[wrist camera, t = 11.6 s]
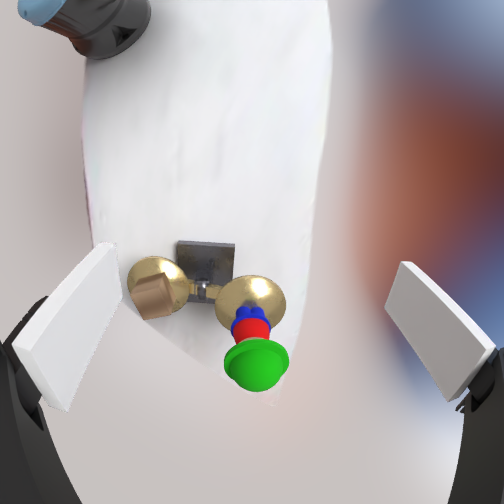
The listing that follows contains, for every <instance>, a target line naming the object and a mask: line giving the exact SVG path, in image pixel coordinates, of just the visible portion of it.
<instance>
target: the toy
mask: <svg viewBox="0 0 504 504" xmlns="http://www.w3.org/2000/svg"><path fill="white" fill-rule="evenodd" d="M270 331H271V326H270V322H269V321H268V319H267V318H266V317H265V313H264V310H263V309H262V308H260V307H254V308H252V309H251V310H250V309H249V308H248V307H239V308H238V309H237V310H236V319H235V320H234V321H233V323H232V325H231V334H232V336H233V337H234V339H235V342H236V345H235V346H233V347H232V348H231V349H230V350H229V351H228V352H227V353H226V355H225V358H224V369H225V372H226V373H227V375H228V376H229V377H230V378H231V379H233V380H235V382H236V383H237V384H238V385H239V386H240V387H242V388H244V389H246V390H248V391H252V392H261V391H265V390H268V389H270V388H271V387H273V386H274V385H275V384H276V383H277V382H278V381H279V379H280V377H281V376H282V375H283V374H284V373H285V372H286V370H287V368H288V366H289V357H288V353H287V351H286V349H285V348H284V347H283V346H281V345H280V344H278V343H277V342H274V341H271V340H269V336H270Z"/></svg>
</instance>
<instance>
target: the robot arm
mask: <svg viewBox="0 0 504 504" xmlns="http://www.w3.org/2000/svg"><path fill="white" fill-rule="evenodd" d="M18 12H19V15H20V16H21V17H22V18H23V19H25V20H27V21H29V22H31V23H32V24H33V25H35V26H41V27H43V28H46V29H49V30H51V31H54V32H56V33H59V34H61V35H63V36H66V37H68V38H69V40H70V41H71V42H72V44H73V46H74V48H75V50H76V51H77V52H78V53H80V54H81V55H83V56H86V57H88V58H91V59H105V58H109V57H112V56H114V55H117V54H119V53H121V52H122V51H124V50H125V49H127V48H128V47H130V46H131V45H132V44H133V43H134V42H135V41H136V40H137V39H138V38H139V37H140V36H141V35H142V33H143V32H144V30H145V29H146V27H147V25H148V23H149V20H150V16H151V7H150V4H149V2H148V0H18ZM122 298H123V294H122V288H121V281H120V275H119V267H118V259H117V251H116V243H109V242H100V243H99V244H98V245H97V246H96V247H95V248H94V249H93V250H92V251H91V252H90V253H89V254H88V255H87V256H86V257H85V258H84V259H83V260H82V261H81V262H80V263H79V264H78V265H77V266H76V267H75V268H74V269H73V270H72V272H70V274H69V275H68V276H67V277H66V278H65V279H64V280H63V281H62V282H61V283H60V284H59V286H58V287H57V288H56V289H55V290H54V291H53V293H52V294H51V295H50V296H45V297H44V298H42V299H40V300H39V301H38V302H36V303H35V304H34V305H33V306H32V308H31V309H30V310H29V311H28V313H27V314H26V315H25V316H24V317H23V318H22V321H20V322H19V323H18V325H17V326H16V327H15V328H14V330H13V331H12V332H11V334H10V335H9V336H8V338H7V339H6V340H5V342H4V343H3V344H2V343H1V341H0V504H82V503H81V501H80V499H79V497H78V496H77V494H76V492H75V490H74V488H73V486H72V484H71V482H70V480H69V478H68V476H67V474H66V472H65V470H64V467H63V465H62V463H61V461H60V458H59V456H58V454H57V451H56V448H55V446H54V443H53V441H52V438H51V435H50V432H49V430H48V427H47V424H46V420H45V417H44V414H43V411H42V408H41V406H40V404H39V403H38V402H39V400H40V398H41V396H42V397H43V398H44V399H45V401H46V402H47V404H48V405H49V406H50V407H53V408H56V409H58V410H61V411H64V412H68V410H69V408H70V405H71V403H72V400H73V398H74V396H75V393H76V391H77V389H78V386H79V384H80V382H81V379H82V377H83V375H84V373H85V370H86V368H87V366H88V364H89V362H90V360H91V358H92V355H93V353H94V352H95V349H96V347H97V345H98V343H99V341H100V339H101V337H102V335H103V333H104V331H105V330H106V328H107V326H108V324H109V322H110V320H111V318H112V316H113V314H114V313H115V311H116V309H117V307H118V305H119V304H120V302H121V300H122ZM384 308H385V310H386V311H387V312H388V314H389V315H390V316H391V318H392V319H393V321H394V322H395V323H396V325H397V326H398V328H399V329H400V330H401V332H402V333H403V335H404V336H405V338H406V339H407V341H408V342H409V343H410V345H411V346H412V348H413V349H414V351H415V352H416V354H417V355H418V357H419V358H420V360H421V361H422V363H423V364H424V366H425V367H426V369H427V370H428V372H429V373H430V375H431V376H432V378H433V380H434V381H435V383H436V384H437V386H438V388H439V389H440V391H441V392H442V394H443V396H444V397H445V399H446V401H447V402H449V401H452V400H454V399H456V398H459V396H460V395H461V394H462V393H463V392H464V390H465V389H466V388H467V387H468V389H469V390H470V392H469V393H468V394H467V395H466V397H465V398H464V399H463V400H462V401H461V403H460V404H459V405H458V406H457V407H456V410H455V411H458V410H459V409H460V408H461V406H464V408H462V410H461V411H460V412H461V413H464V424H463V433H462V441H461V447H460V453H459V459H458V464H457V469H456V474H455V478H454V482H453V486H452V490H451V494H450V497H449V501H448V504H504V348H501V349H500V350H499V351H498V350H497V349H496V348H495V347H496V345H495V344H494V343H493V342H492V341H491V340H490V339H489V337H488V336H487V335H486V334H485V333H484V332H483V331H482V330H481V329H480V328H479V326H478V325H477V324H476V323H475V322H474V321H473V320H472V319H471V318H470V317H469V316H468V315H467V314H466V313H465V312H464V311H463V310H462V309H461V308H460V307H459V306H458V305H457V304H456V303H455V302H454V301H453V300H452V299H451V298H450V297H449V296H448V295H447V294H446V293H445V292H444V291H443V290H442V289H441V288H440V287H439V286H438V285H437V284H436V283H434V281H432V280H431V279H430V278H429V277H428V276H427V275H426V274H425V273H424V272H423V271H421V270H420V269H419V268H418V267H417V266H416V265H415V264H413V263H412V262H403V261H401V262H400V265H399V268H398V271H397V274H396V277H395V280H394V283H393V286H392V288H391V291H390V294H389V296H388V299H387V301H386V304H385V307H384Z"/></svg>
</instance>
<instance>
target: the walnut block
mask: <svg viewBox="0 0 504 504" xmlns="http://www.w3.org/2000/svg"><path fill="white" fill-rule="evenodd" d="M130 296H131V298H132V300H133V302H134V304H135V306H136V308H137V309H138V311H139V313H140V315H141V316H142V318H143V320H148V319H153V318H158V317H162V316H167V315H171V313H172V309H173V306H174V302H175V299H176V296H175V293H174V291H173V289H172V287H171V285H170V283H169V280H168V278H167V276H166V274H165V272H162V273H159V274H155V275H151V276H147V277H143V278H140V279H138V281H137V283H136V285H135V286H134V288H133V290H132V292H131V294H130Z"/></svg>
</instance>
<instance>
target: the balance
mask: <svg viewBox="0 0 504 504" xmlns="http://www.w3.org/2000/svg"><path fill="white" fill-rule="evenodd" d="M234 252H235V244H226V243H211V242H195V241H179V242H178V265H177V264H176V263H174V262H173V261H171V260H169V259H166V258H163V257H158V256H150V257H145V258H143V259H141V260H139V261H137V262H136V263H135V264H134V265H133V267H132V268H131V270H130V272H129V274H128V278H127V285H128V289H129V292H130V294H131V292H132V290H133V288H134V286H135V285H136V283H137V281H138V279H140V278H143V277H147V276H151V275H155V274H159V273H162V272H165V274H166V276H167V278H168V280H169V283H170V285H171V287H172V289H173V291H174V293H175V296H176V299H175V302H174V306H173V309H172V313H173V312H175V311H178V310H179V309H181V308H182V307H183V306H184V305H185V303H186V302H199V303H214V304H215V313H216V316H217V319H218V320H219V322H220V323H221V324H222V325H223V326H224V327H225V328H227V329H228V330H230V331H231V325H232V323H233V321H234V320H235V319H236V310H237V309H238V308H239V307H248V308H249V309H250V310H251V309H252V308H254V307H260V308H262V309H263V310H264V313H265V317H266V318H267V319H268V321H269V322H270V326H271V329H272V328H273V327H275V326H276V325H277V324H278V323H279V322H280V321H281V319H282V318H283V316H284V314H285V310H286V300H285V297H284V294H283V292H282V290H281V288H280V287H279V286H278V285H277V284H276V283H275V282H273V281H272V280H270V279H268V278H265V277H262V276H256V275H247V276H241V277H238V278H235V279H233V280H232V277H233V264H234Z"/></svg>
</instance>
